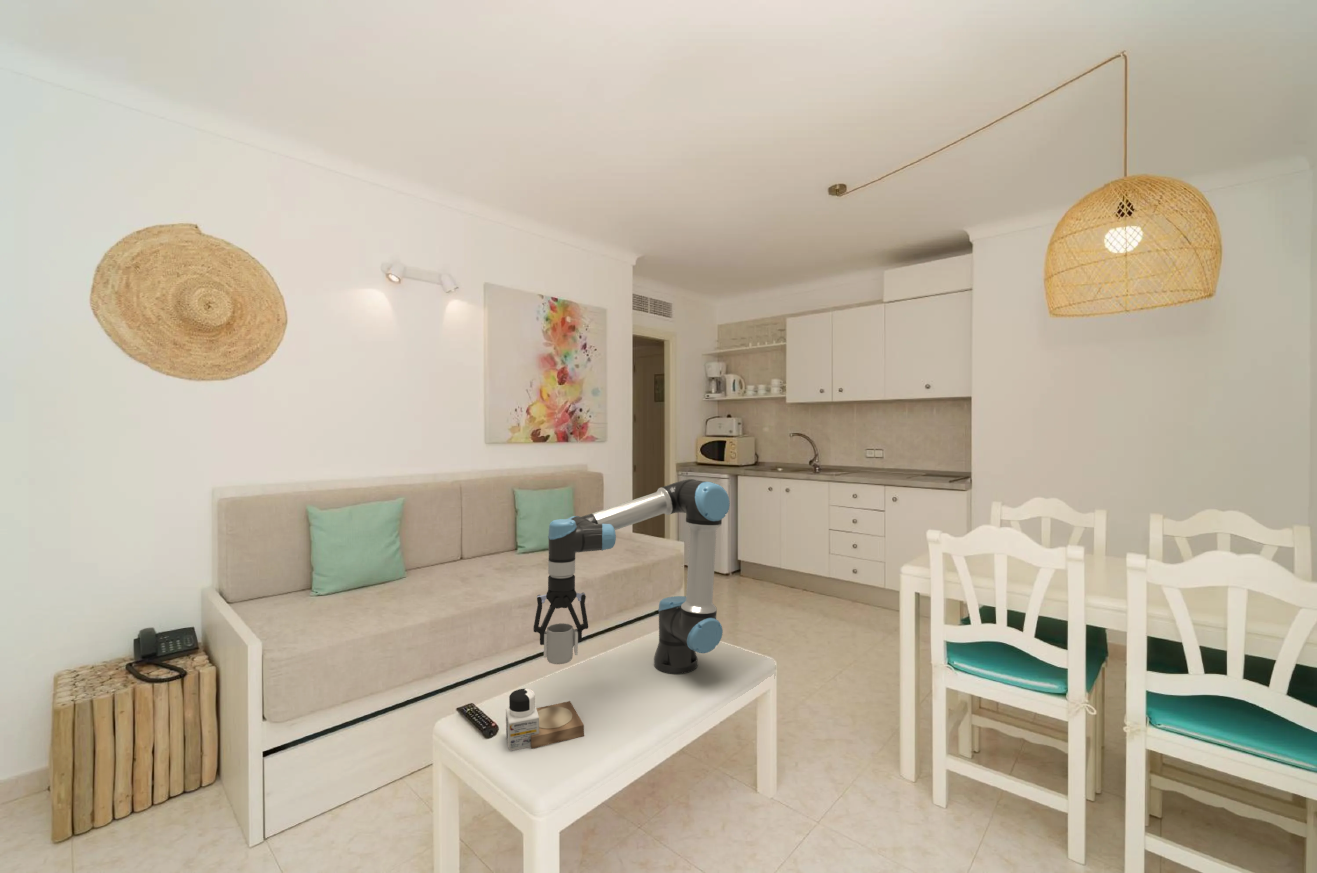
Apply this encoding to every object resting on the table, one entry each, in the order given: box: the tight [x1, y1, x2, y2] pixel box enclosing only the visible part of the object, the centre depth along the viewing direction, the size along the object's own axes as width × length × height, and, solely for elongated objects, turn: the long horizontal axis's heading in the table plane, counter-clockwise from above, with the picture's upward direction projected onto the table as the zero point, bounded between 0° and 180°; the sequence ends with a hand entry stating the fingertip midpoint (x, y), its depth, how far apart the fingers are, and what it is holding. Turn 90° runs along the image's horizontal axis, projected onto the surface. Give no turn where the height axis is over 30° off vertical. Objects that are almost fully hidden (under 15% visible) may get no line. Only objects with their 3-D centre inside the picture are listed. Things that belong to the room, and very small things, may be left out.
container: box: [505, 688, 539, 752], centre depth 147 cm, size 8×8×13 cm
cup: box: [546, 622, 575, 665], centre depth 158 cm, size 7×10×9 cm
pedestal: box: [530, 700, 585, 750], centre depth 153 cm, size 14×14×3 cm
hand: (560, 654), depth 158 cm, fingers closed on cup, 8 cm apart
